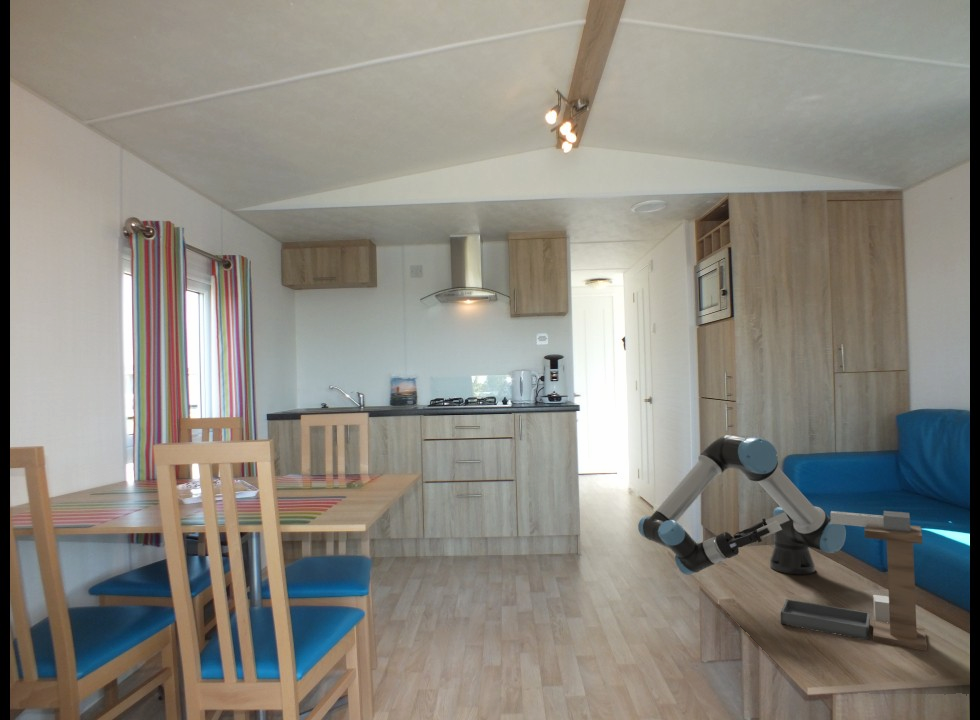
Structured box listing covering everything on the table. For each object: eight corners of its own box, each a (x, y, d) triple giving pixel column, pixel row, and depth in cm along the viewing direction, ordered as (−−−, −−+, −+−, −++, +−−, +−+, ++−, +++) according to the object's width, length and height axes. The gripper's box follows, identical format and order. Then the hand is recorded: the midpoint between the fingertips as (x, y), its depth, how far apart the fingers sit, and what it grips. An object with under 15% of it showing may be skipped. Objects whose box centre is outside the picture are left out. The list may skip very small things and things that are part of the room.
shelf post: (870, 624, 178) (866, 521, 179) (924, 634, 171) (920, 526, 172) (868, 640, 168) (864, 530, 169) (926, 651, 161) (922, 536, 162)
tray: (786, 610, 190) (786, 599, 191) (870, 624, 178) (869, 612, 179) (781, 624, 180) (780, 612, 181) (868, 640, 168) (868, 627, 168)
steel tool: (832, 519, 182) (831, 506, 182) (909, 527, 171) (909, 512, 171) (830, 524, 176) (829, 510, 176) (910, 532, 166) (909, 518, 166)
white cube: (897, 617, 183) (896, 597, 183) (899, 625, 178) (899, 604, 178) (873, 614, 186) (873, 594, 186) (875, 621, 181) (874, 601, 181)
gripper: (737, 549, 206) (796, 523, 196) (718, 568, 185) (783, 541, 175) (724, 528, 208) (782, 501, 198) (704, 545, 187) (768, 517, 177)
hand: (783, 520), depth 187 cm, fingers open, 13 cm apart
